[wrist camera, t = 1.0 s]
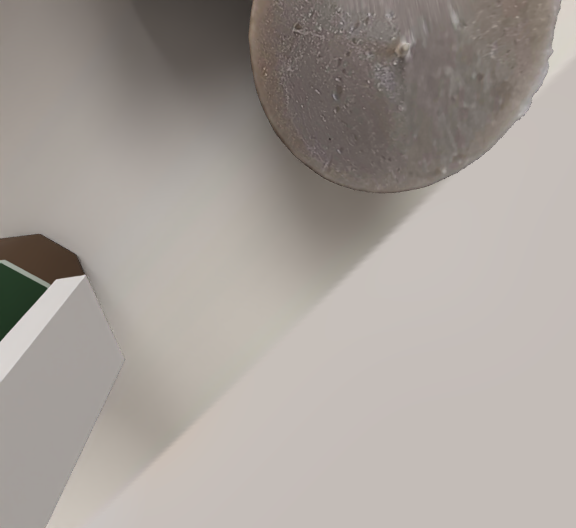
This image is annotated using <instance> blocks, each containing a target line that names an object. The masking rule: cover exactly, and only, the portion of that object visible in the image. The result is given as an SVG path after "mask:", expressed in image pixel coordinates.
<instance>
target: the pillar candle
mask: <svg viewBox="0 0 576 528" xmlns="http://www.w3.org/2000/svg"><path fill="white" fill-rule="evenodd" d="M560 4H561V0H253V3H252V8H251V15H250V26H249V33H248V39H249V48H250V59H251V67H252V72H253V77H254V83H255V87H256V91H257V94H258V97H259V100H260V102H261V105H262V107H263V110H264V112H265V114H266V116H267V118H268V120H269V122H270V124H271V126H272V128H273V130H274V131H275V133H276V135H277V136H278V137H279V138H280V139H281V141H282V142H283V143H284V144H285V145H286V147H287V148H288V149H289V150H290V151H291V152H292V154H293V155H294V156H295V157H297V158H298V159H299V160H300V161H301V162H302V163H304V164H305V165H306V166H308V167H309V168H310V169H312V170H313V171H314V172H315V173H317V174H318V175H320V176H321V177H323V178H325V179H327V180H329V181H331V182H333V183H335V184H338V185H340V186H344V187H347V188H350V189H353V190H358V191H365V192H372V193H395V192H402V191H409V190H413V189H419V188H423V187H426V186H429V185H432V184H434V183H436V182H439V181H440V180H442V179H445V178H447V177H449V176H451V175H453V174H455V173H458V172H459V171H460V170H462V169H464V168H465V167H467V166H468V165H469V164H471V163H473V162H474V161H475V160H477V159H479V158H480V157H481V156H482V155H484V154H485V153H486V152H487V151H488V150H490V149H491V148H492V147H493V145H495V144H496V143H497V141H498V140H499V139H500V138H502V137H503V135H504V134H505V133H506V132H507V131H508V129H509V128H511V126H512V125H513V124H514V123H515V122H516V121H517V120H520V119H521V117H522V116H524V115H525V113H526V112H527V111H528V110H529V108H530V105H531V103H532V97H533V95H534V94H535V93H536V92H537V91H538V89H539V88H540V86H541V85H542V83H543V80H544V78H545V76H546V74H547V72H548V68H549V63H548V59H549V57H550V56H551V54H552V53H553V49H552V41H553V36H554V29H555V24H556V21H557V15H558V13H559V10H560Z"/></svg>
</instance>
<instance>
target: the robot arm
mask: <svg viewBox="0 0 576 528" xmlns="http://www.w3.org/2000/svg"><path fill="white" fill-rule="evenodd" d="M124 361H125V358H124V356H123V354H122V352H121V349H120V347H119V345H118V343H117V341H116V339H115V336H114V334H113V332H112V330H111V328H110V326H109V323H108V321H107V319H106V317H105V315H104V313H103V310H102V308H101V306H100V304H99V302H98V300H97V297H96V295H95V293H94V291H93V289H92V287H91V284H90V282H89V280H88V278H87V276H86V275H82V276H75V277H69V278H62V279H56V280H55V281H54V283H53V284H52V285H51V286H50V287H49V288H48V289H47V290H46V291H45V293H44V294H43V295H42V296H41V297H40V298H39V299H38V300H37V301H36V303H35V304H34V305H33V306H32V307H31V308H30V309H29V310H28V311H27V313H26V314H25V315H24V316H23V317H22V318H21V319H20V320H19V321H18V323H17V324H16V325H15V326H14V327H13V328H12V329H11V330H10V331H9V333H8V334H7V335H6V336H5V337H4V338H3V339H2V340H1V341H0V528H46V526H47V524H48V522H49V520H50V517H51V515H52V513H53V511H54V509H55V507H56V505H57V503H58V500H59V498H60V496H61V494H62V492H63V490H64V488H65V486H66V484H67V481H68V479H69V477H70V475H71V473H72V471H73V469H74V467H75V465H76V462H77V460H78V458H79V456H80V454H81V452H82V450H83V448H84V446H85V443H86V441H87V439H88V437H89V435H90V433H91V431H92V429H93V426H94V424H95V422H96V420H97V418H98V416H99V414H100V412H101V410H102V407H103V405H104V403H105V401H106V399H107V397H108V395H109V393H110V391H111V388H112V386H113V384H114V382H115V380H116V378H117V376H118V374H119V372H120V369H121V367H122V365H123V363H124Z"/></svg>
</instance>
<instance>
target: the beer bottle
mask: <svg viewBox="0 0 576 528" xmlns="http://www.w3.org/2000/svg"><path fill="white" fill-rule="evenodd" d="M82 275H84V272H83V270H82V268H81V265H80V263H79V260H78V258H77V256H76V254H74V253H73V252H71V251H69V250H67V249H66V248H64V247H62V246H60V245H59V244H57V243H55V242H53V241H52V240H50V239H48V238H46V237H45V236H43V235H41V234H35V235H27V236H19V237H11V238H3V239H0V341H1V340H2V339H3V338H4V337H5V336H6V335H7V334H8V333H9V331H10V330H11V329H12V328H13V327H14V326H15V325H16V324H17V323H18V321H19V320H20V319H21V318H22V317H23V316H24V315H25V314H26V313H27V311H28V310H29V309H30V308H31V307H32V306H33V305H34V304H35V303H36V301H37V300H38V299H39V298H40V297H41V296H42V295H43V294H44V293H45V291H46V290H47V289H48V288H49V287H50V286H51V285H52V284H53V283H54V281H55V280H56V279H62V278H69V277H75V276H82Z"/></svg>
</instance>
